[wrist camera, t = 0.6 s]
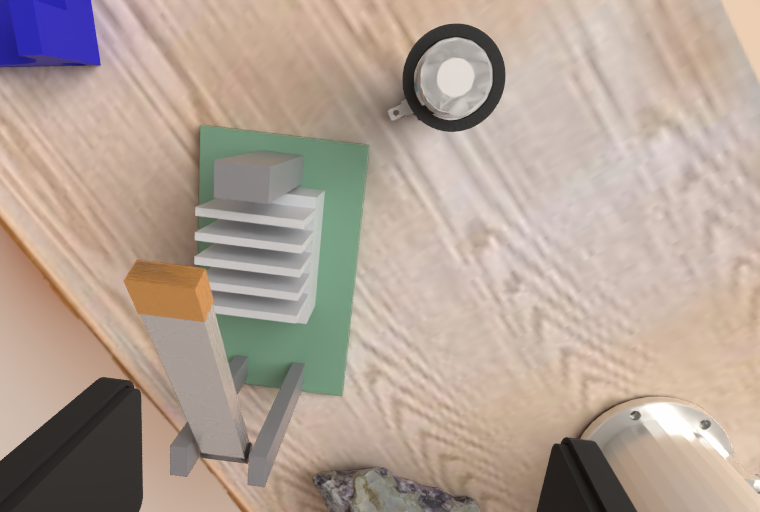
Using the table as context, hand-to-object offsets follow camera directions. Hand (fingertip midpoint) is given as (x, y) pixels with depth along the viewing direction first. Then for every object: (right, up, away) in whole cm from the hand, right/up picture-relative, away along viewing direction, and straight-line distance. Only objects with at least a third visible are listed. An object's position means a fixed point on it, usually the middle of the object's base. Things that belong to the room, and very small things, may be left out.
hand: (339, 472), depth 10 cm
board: (-7, +4, +29) cm, 30 cm away
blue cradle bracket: (-25, +20, +25) cm, 41 cm away
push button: (+5, +16, +25) cm, 30 cm away
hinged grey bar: (-8, -2, +15) cm, 17 cm away
